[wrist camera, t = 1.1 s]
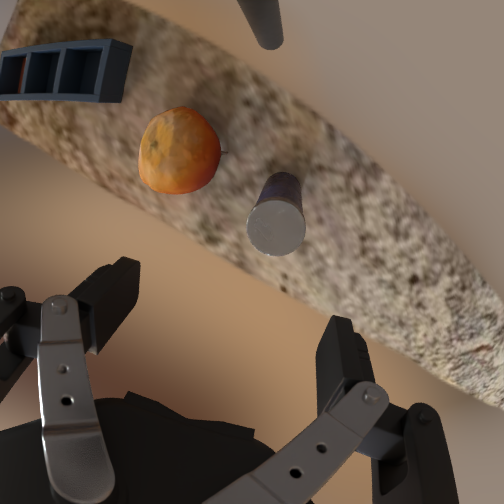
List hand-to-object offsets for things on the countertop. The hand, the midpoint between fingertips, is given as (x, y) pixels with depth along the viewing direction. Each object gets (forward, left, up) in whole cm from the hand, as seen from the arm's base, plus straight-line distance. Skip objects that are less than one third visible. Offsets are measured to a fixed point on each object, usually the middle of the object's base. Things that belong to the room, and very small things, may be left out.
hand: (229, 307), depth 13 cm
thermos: (-1, +1, -21) cm, 21 cm away
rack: (-10, -27, -21) cm, 35 cm away
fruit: (-3, -9, -21) cm, 23 cm away
